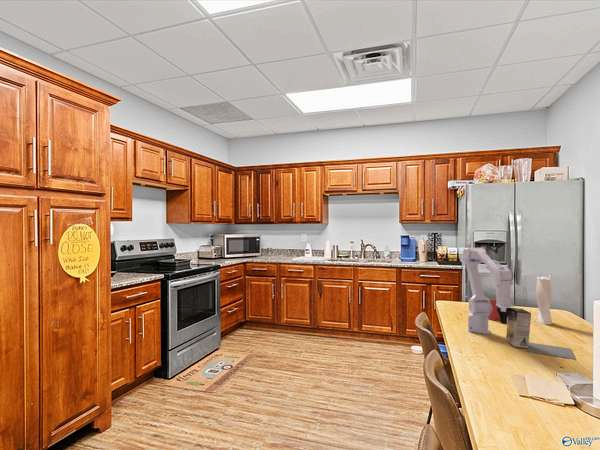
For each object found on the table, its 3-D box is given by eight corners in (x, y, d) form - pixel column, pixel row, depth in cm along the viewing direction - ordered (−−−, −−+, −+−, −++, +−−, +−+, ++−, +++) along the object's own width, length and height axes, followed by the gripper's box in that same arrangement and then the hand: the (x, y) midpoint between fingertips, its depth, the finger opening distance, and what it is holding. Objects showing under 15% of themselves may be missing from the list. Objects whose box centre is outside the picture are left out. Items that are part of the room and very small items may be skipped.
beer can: (498, 318, 205) (498, 297, 205) (501, 321, 199) (501, 300, 199) (486, 317, 207) (486, 297, 207) (488, 320, 201) (488, 299, 201)
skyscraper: (557, 325, 191) (557, 274, 191) (546, 326, 189) (546, 275, 189) (542, 320, 199) (542, 272, 199) (532, 322, 197) (531, 273, 197)
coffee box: (505, 340, 164) (507, 306, 164) (519, 342, 163) (522, 308, 163) (513, 346, 155) (516, 310, 155) (529, 348, 154) (532, 312, 154)
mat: (526, 351, 151) (526, 351, 151) (525, 342, 163) (525, 341, 163) (576, 359, 142) (576, 359, 142) (570, 349, 154) (570, 348, 154)
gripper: (513, 298, 153) (513, 328, 153) (513, 292, 165) (513, 321, 165) (495, 296, 157) (495, 326, 157) (496, 291, 169) (496, 319, 169)
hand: (503, 323), depth 161 cm, fingers closed
